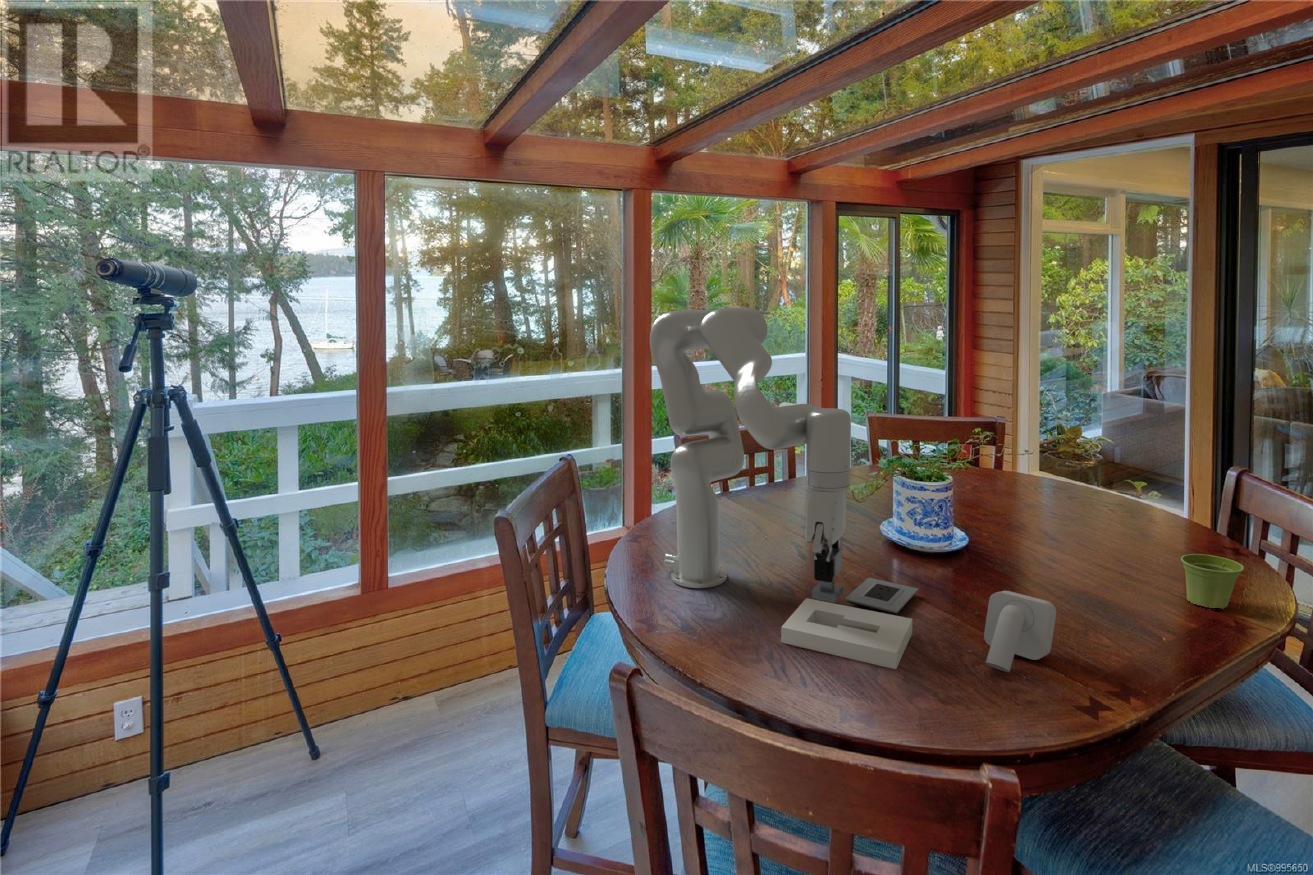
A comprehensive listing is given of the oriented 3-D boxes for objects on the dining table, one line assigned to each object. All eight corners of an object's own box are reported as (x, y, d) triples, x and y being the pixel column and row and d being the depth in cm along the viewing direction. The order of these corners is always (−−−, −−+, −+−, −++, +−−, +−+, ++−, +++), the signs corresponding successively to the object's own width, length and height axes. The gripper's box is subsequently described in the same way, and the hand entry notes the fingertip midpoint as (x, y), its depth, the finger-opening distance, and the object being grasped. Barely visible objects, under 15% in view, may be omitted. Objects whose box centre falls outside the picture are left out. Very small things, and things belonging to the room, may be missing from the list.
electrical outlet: (868, 586, 144) (868, 576, 144) (918, 598, 138) (918, 587, 137) (844, 608, 134) (844, 597, 134) (896, 621, 128) (897, 610, 127)
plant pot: (1232, 619, 124) (1238, 575, 122) (1170, 603, 131) (1175, 562, 129) (1242, 604, 129) (1248, 562, 128) (1183, 590, 137) (1187, 550, 135)
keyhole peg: (811, 598, 121) (811, 552, 119) (819, 589, 124) (819, 545, 123) (835, 602, 118) (836, 556, 117) (842, 593, 122) (843, 548, 121)
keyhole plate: (781, 642, 120) (781, 627, 120) (806, 612, 132) (806, 598, 131) (896, 669, 110) (896, 652, 109) (911, 634, 122) (912, 618, 121)
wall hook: (963, 662, 110) (973, 593, 110) (988, 652, 119) (998, 588, 118) (1025, 684, 103) (1036, 610, 103) (1047, 671, 112) (1057, 603, 112)
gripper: (821, 467, 127) (821, 558, 130) (791, 487, 112) (792, 589, 116) (861, 470, 123) (859, 564, 126) (835, 491, 109) (834, 596, 112)
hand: (827, 575), depth 121 cm, fingers closed on keyhole peg, 4 cm apart
